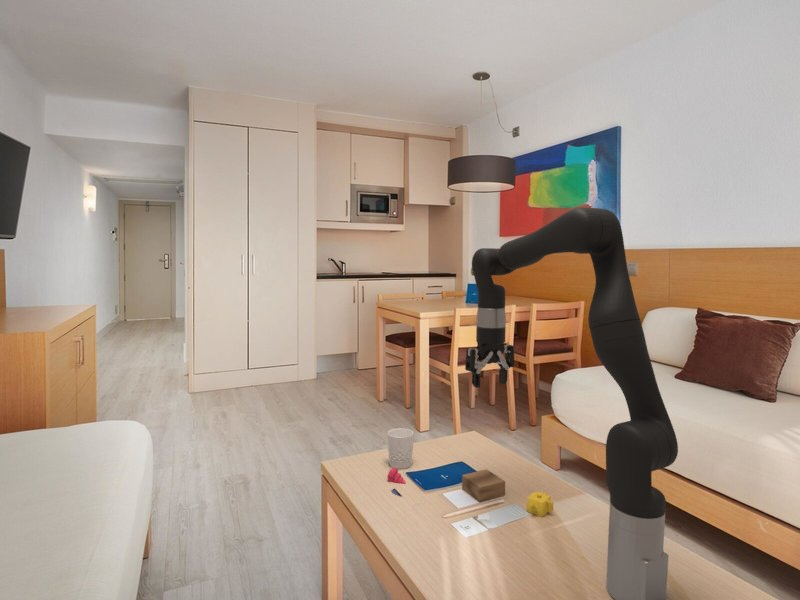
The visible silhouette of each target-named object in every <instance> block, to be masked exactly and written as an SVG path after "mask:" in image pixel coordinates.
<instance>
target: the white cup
mask: <svg viewBox="0 0 800 600" xmlns="http://www.w3.org/2000/svg"><path fill="white" fill-rule="evenodd" d="M414 434H415V432H414V431H413V430H411V429H410V428H405V427H404V428H402V427H401V428H400V427H397V428H396V427H395V428H392V429H389V430H388V431H387V450H388V459H389V460H388V461H389V466H390V467H391V468H393V467H395V468H397V469H398V470H403V469H405V470H406V469H408V468H411V466H412V464H413V454H414V452H413V450H414V449H413V448H414Z"/></svg>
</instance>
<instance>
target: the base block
mask: <svg viewBox="0 0 800 600" xmlns="http://www.w3.org/2000/svg"><path fill="white" fill-rule="evenodd" d="M461 489H462V490H464V491H465V492H466V493H468V494H469V495H470V496H471V497H473V498H474V499H475V500H477V501H478V502H479V503H481V502H484V503H486V502H485V501H488V500H492V499H495V500H497V499H496V498H499V497H503V496H506V481H505V480H504V479H502V478H501V477H500V476H498V475H497V474H494V473H493V472H492V471H490V470H489V469H482V470H477V471H473V472H469V473H465V474H464V473H463V474H462V475H461ZM462 490H461V491H462ZM465 492H464V493H465ZM466 493H465V494H466ZM469 495H468V496H469ZM470 496H469V497H470ZM471 497H470V498H471ZM503 498H504V497H503ZM474 499H473V500H474ZM499 499H500V498H499ZM475 500H474V501H475ZM492 501H493V500H492ZM478 502H477V503H478ZM488 502H489V501H488ZM479 503H478V504H479ZM481 504H482V503H481Z"/></svg>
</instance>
